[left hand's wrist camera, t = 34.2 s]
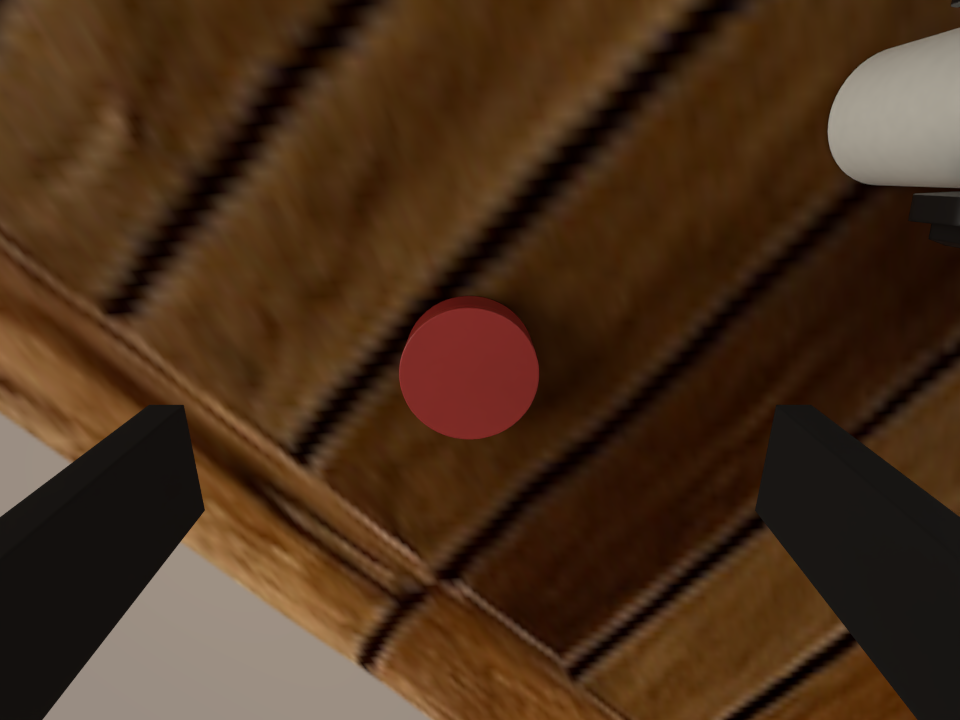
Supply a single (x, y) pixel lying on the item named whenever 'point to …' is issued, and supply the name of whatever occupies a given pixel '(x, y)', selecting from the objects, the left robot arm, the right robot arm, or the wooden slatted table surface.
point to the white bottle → (901, 116)
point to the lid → (469, 368)
